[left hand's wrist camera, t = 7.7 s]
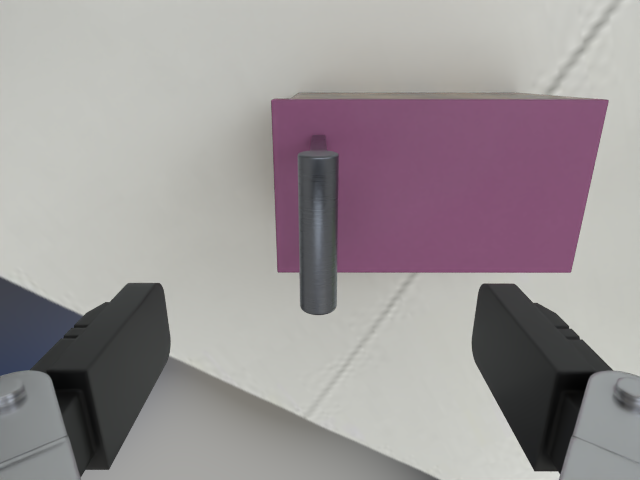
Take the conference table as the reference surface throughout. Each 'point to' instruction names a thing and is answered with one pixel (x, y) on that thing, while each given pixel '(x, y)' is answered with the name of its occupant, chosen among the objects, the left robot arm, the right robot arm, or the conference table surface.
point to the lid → (429, 186)
